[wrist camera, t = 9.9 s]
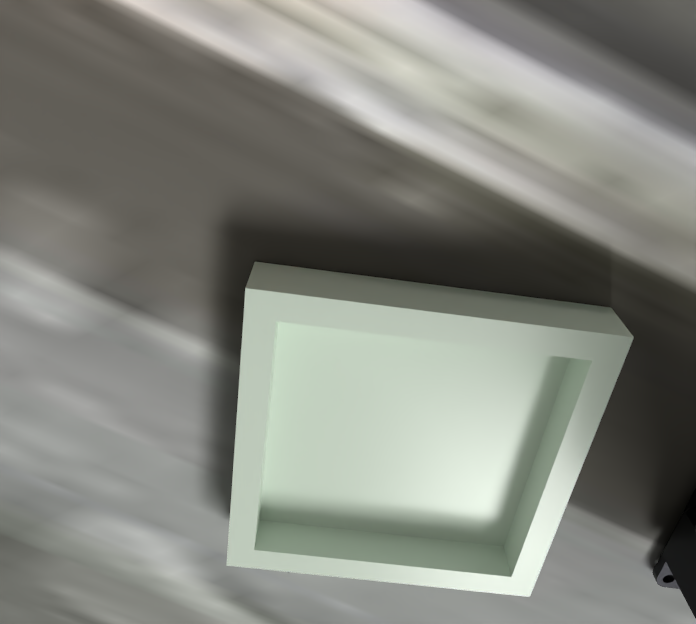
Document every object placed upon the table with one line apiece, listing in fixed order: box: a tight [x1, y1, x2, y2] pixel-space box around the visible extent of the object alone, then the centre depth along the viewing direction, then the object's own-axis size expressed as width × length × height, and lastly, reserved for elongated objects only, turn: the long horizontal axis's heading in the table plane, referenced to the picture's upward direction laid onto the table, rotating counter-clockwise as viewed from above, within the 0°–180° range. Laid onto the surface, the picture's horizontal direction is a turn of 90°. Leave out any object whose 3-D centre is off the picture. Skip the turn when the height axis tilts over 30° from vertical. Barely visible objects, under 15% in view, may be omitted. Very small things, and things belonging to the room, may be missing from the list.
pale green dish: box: [227, 262, 634, 597], centre depth 23 cm, size 12×12×2 cm
